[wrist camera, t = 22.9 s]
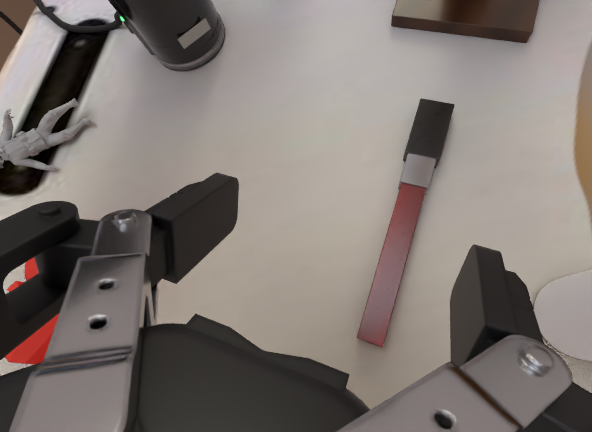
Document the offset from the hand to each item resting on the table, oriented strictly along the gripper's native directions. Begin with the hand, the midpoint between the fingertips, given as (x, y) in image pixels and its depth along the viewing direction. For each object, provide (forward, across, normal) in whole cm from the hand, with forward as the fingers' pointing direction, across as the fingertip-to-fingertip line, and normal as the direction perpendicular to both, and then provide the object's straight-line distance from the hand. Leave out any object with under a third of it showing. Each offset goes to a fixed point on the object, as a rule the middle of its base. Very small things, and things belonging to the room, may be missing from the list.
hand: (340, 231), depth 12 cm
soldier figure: (+20, +40, +12) cm, 47 cm away
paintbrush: (+22, -3, +10) cm, 24 cm away
